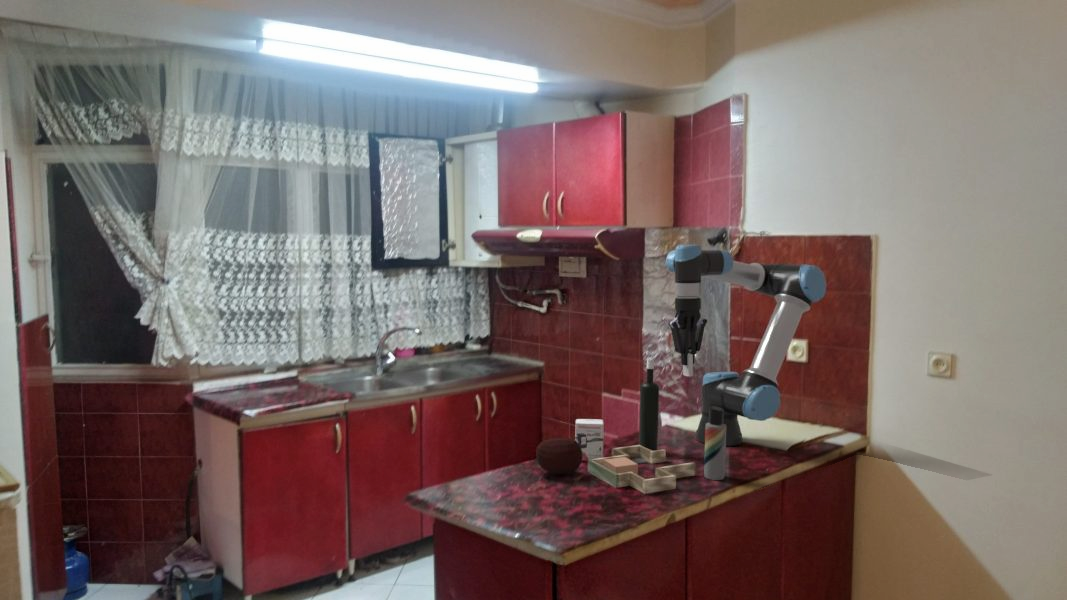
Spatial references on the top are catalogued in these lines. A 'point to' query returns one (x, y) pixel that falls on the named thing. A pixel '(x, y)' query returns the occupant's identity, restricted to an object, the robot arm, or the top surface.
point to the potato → (559, 455)
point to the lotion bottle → (715, 445)
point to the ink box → (590, 438)
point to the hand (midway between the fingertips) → (687, 375)
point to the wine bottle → (649, 410)
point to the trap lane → (639, 455)
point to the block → (621, 465)
